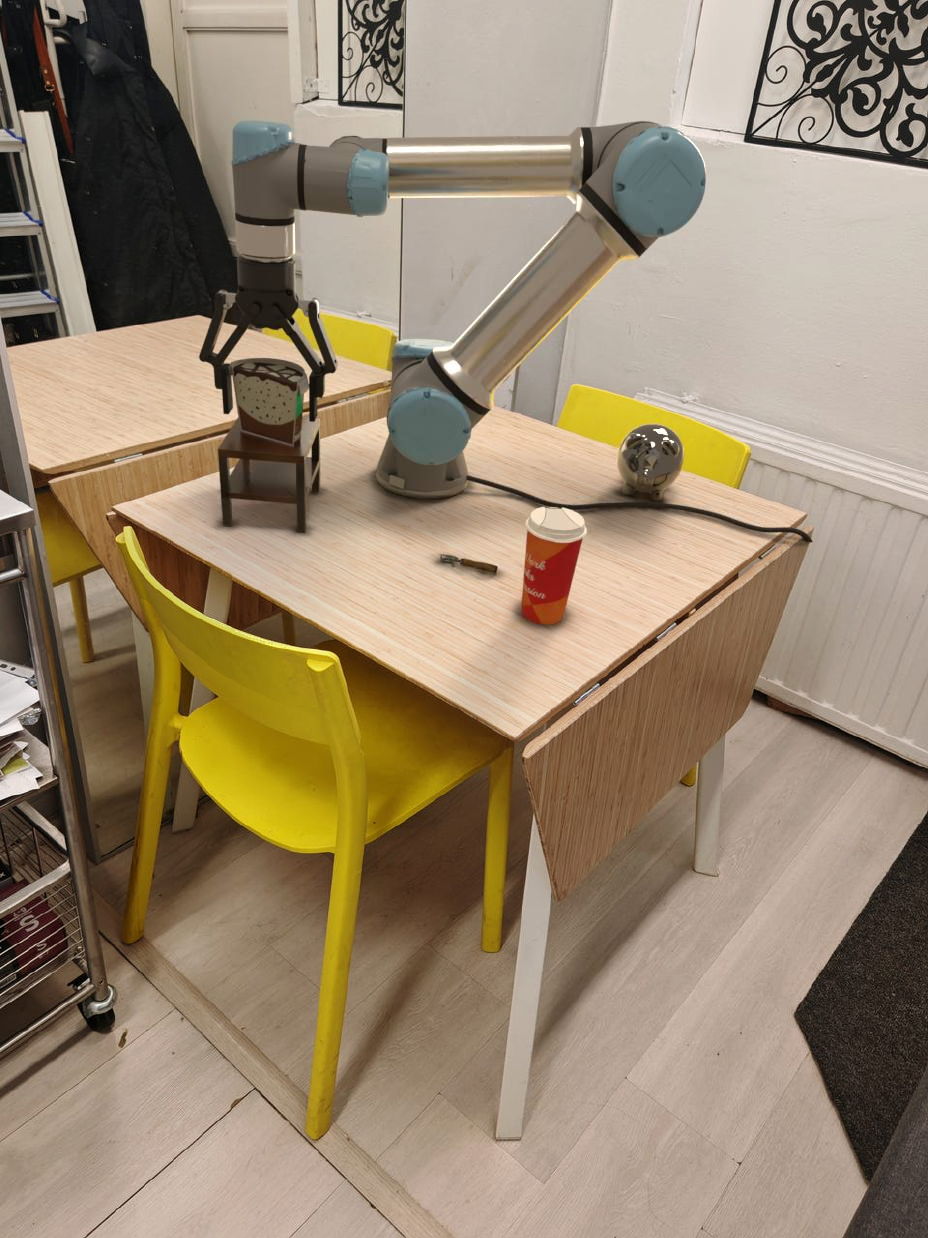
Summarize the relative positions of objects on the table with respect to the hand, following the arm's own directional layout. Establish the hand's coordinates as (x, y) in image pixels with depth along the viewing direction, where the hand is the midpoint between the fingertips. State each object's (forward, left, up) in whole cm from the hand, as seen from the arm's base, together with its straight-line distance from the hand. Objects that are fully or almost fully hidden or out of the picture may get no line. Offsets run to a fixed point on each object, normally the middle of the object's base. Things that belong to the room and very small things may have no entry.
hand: (270, 414), depth 130 cm
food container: (-1, 0, -3) cm, 3 cm away
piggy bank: (-60, -17, -15) cm, 64 cm away
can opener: (-30, +14, -15) cm, 36 cm away
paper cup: (-40, +25, -15) cm, 49 cm away
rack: (0, 0, -15) cm, 15 cm away
